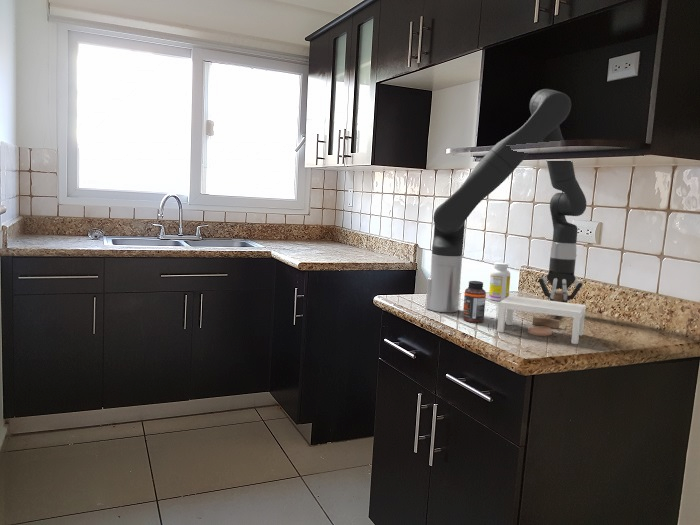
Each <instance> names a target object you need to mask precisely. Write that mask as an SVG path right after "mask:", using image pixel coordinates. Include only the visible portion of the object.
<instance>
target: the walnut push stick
mask: <svg viewBox="0 0 700 525" xmlns="http://www.w3.org/2000/svg"><path fill="white" fill-rule="evenodd" d="M553 301H556V302H563V291H561V290H559V291H558V290H557V291H556V293H555V294H554V298H553ZM555 318H557V315H549V314H546V316H544V317H539V316H533V317H532V325H531V326H545V327H550V328H552V329H560V323H561V322H560V319H555Z"/></svg>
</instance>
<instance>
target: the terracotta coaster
mask: <svg viewBox="0 0 700 525" xmlns="http://www.w3.org/2000/svg"><path fill="white" fill-rule="evenodd" d="M527 329H528V330H527V333H528V334H531V335H533V336H540V337H541V336H542V337H549V336H552V335H553V328H551V327H545V326H538V325H530V326H528V328H527Z"/></svg>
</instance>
